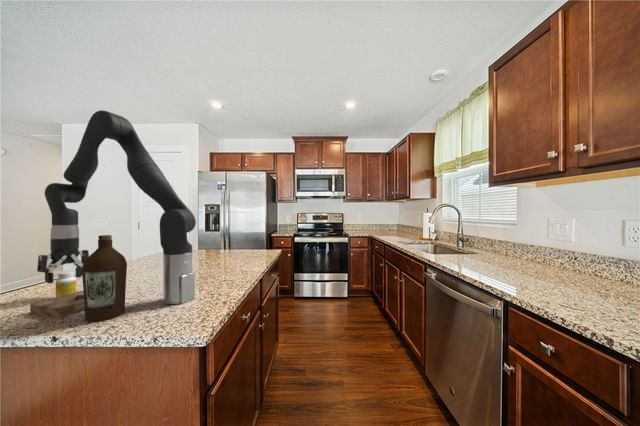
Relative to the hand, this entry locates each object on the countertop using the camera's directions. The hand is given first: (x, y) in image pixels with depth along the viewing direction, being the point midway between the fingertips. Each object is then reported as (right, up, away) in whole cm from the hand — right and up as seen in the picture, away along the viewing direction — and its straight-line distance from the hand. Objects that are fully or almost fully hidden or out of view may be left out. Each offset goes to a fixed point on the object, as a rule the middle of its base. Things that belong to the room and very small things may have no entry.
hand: (65, 280), depth 93 cm
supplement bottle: (0, -7, 0) cm, 7 cm away
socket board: (+12, -7, -9) cm, 17 cm away
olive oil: (+29, -7, -16) cm, 34 cm away
